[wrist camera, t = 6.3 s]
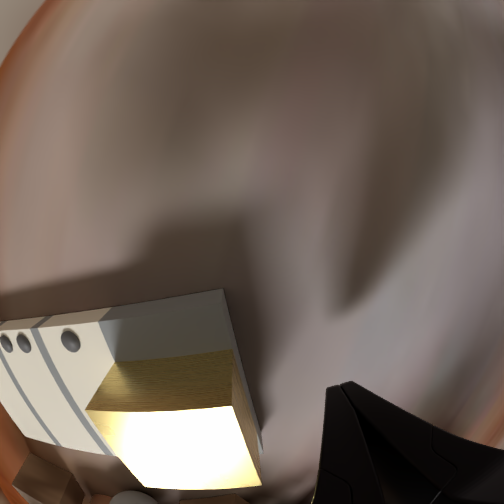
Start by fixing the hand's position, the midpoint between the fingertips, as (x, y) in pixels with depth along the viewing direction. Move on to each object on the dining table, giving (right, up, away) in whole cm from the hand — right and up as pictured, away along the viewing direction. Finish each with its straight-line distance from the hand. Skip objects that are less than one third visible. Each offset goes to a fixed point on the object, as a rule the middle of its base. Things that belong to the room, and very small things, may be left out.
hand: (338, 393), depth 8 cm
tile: (-5, -1, +1) cm, 5 cm away
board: (-10, -1, +2) cm, 10 cm away
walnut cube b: (-18, -13, +4) cm, 22 cm away
